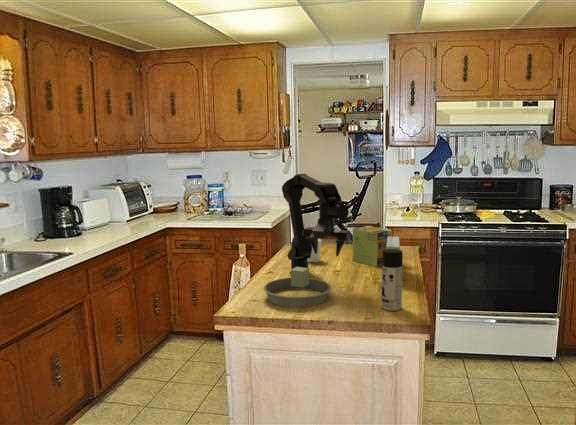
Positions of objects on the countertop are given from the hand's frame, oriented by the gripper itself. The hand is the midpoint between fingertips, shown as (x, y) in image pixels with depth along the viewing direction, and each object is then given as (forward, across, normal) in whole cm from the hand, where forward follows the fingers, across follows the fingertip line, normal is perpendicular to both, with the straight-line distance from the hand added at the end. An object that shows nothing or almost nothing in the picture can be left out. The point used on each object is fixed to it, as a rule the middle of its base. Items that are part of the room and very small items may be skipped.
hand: (326, 255), depth 200 cm
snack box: (+12, +20, +21) cm, 32 cm away
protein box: (+12, +4, +41) cm, 43 cm away
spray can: (+12, +32, -16) cm, 38 cm away
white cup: (+12, -21, +31) cm, 39 cm away
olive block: (+8, -2, -18) cm, 20 cm away
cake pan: (+12, -2, -20) cm, 24 cm away
